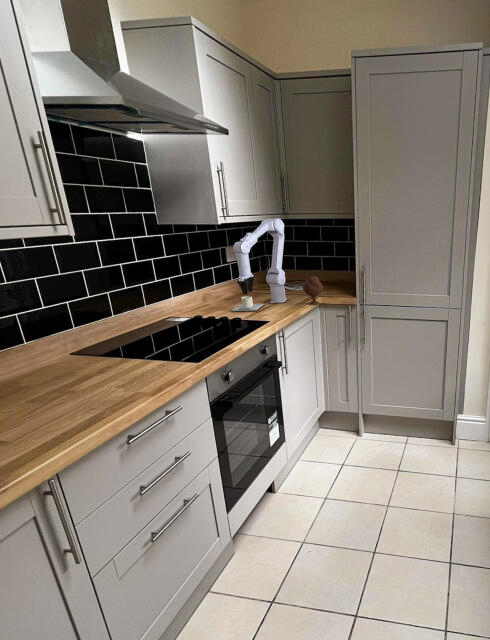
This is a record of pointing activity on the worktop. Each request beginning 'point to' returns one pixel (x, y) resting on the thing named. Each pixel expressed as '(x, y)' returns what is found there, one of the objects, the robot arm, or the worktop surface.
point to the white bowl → (247, 301)
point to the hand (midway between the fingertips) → (248, 293)
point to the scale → (250, 309)
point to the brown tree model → (313, 288)
